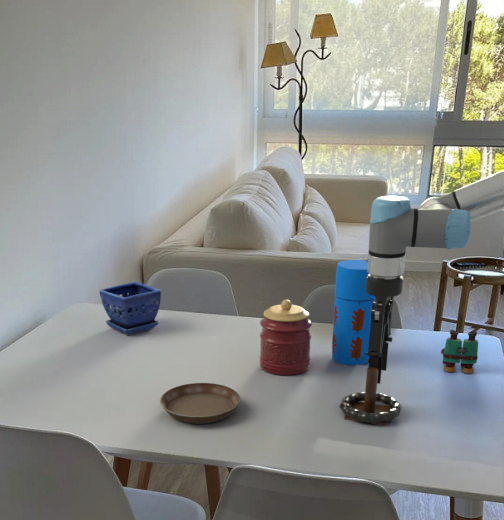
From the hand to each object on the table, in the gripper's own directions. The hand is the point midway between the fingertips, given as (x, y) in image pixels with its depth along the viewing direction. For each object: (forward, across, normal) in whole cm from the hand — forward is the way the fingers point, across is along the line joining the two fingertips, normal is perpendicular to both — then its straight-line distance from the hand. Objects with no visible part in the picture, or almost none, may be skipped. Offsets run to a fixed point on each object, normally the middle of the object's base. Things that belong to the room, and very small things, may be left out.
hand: (377, 375), depth 157 cm
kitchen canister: (+8, -16, -26) cm, 32 cm away
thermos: (+8, -28, -11) cm, 31 cm away
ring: (+5, +7, 0) cm, 8 cm away
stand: (+7, +7, 0) cm, 10 cm away
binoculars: (+9, -31, +16) cm, 36 cm away
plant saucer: (+7, +16, -36) cm, 40 cm away
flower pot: (+8, -29, -77) cm, 83 cm away
